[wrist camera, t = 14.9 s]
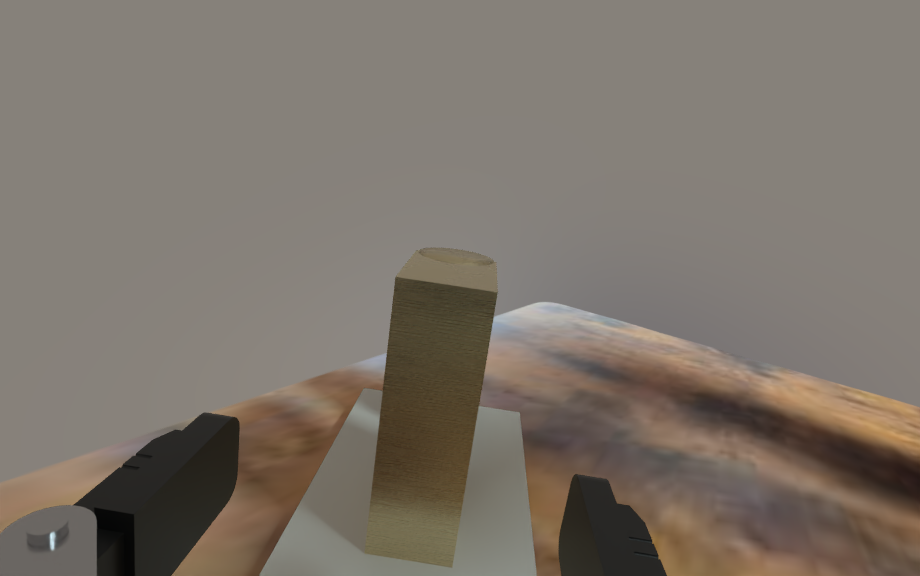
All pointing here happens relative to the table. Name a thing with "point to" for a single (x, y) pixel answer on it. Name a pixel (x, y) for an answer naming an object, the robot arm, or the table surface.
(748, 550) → the table surface
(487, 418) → the mounting plate
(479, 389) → the brown tall block
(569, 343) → the table surface
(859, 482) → the table surface
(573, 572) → the robot arm
